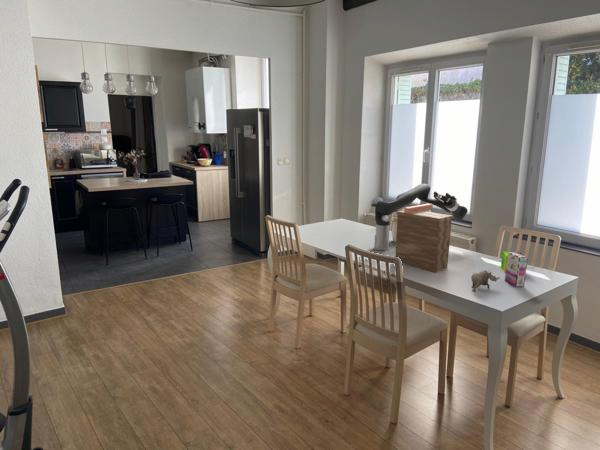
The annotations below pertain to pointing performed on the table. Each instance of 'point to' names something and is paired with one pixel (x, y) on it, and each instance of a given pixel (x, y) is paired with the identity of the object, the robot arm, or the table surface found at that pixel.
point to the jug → (394, 228)
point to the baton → (418, 208)
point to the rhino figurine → (482, 279)
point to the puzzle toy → (505, 260)
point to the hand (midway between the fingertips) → (440, 193)
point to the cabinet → (423, 239)
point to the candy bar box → (516, 269)
